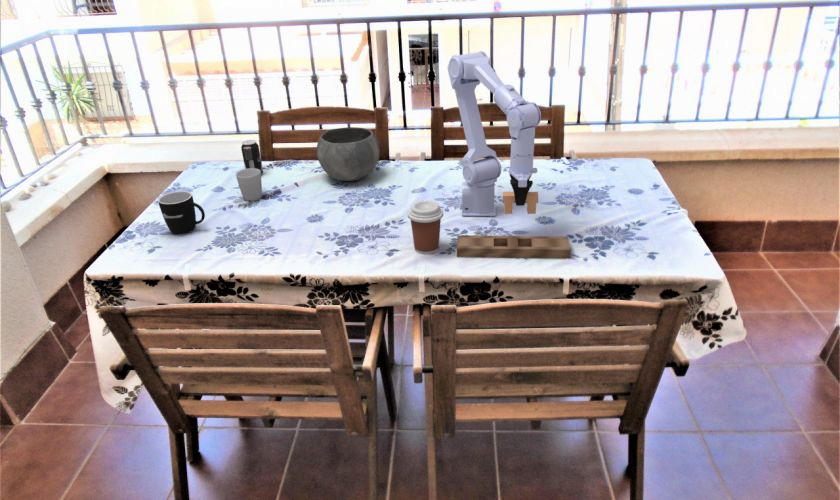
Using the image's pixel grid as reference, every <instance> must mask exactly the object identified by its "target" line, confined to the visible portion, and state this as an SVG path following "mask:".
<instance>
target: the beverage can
mask: <svg viewBox="0 0 840 500" xmlns="http://www.w3.org/2000/svg"><path fill="white" fill-rule="evenodd" d="M240 148H241V153H242V159H243V165H244V169H249V168H255V169H259V170H260V171H261V175H263V173H264V169H263V164H262V158H261V151H260V146H259V144H258V142H257V140H255V139H248V140H247V139H246V140H244V141H242V143H241V147H240Z"/></svg>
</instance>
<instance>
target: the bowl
mask: <svg viewBox="0 0 840 500" xmlns="http://www.w3.org/2000/svg"><path fill="white" fill-rule="evenodd" d="M380 152H381V151H380V146H379V141H378V139H377V137H376V135H375V133H374V132H373V131H372V130H370V129H369V128H365V127H359V126H358V127H356V126H355V127H354V126H352V127H349V126H348V127H339V128H333V129H329V130H326V131H325V132H323V133H322V134H321V135H320V136H319V138H318V140H317V145H316V155H317V156H316V157H317V160H318V163H319V164H320V167H321V168H322V170H323V171H324V172H325V173H326V174H327V175H328V176H330V177H331V178H333V179H334V180H337V181H342V182H354V181H358V180H361V179H363V178H365V177H367V176H368V175H369V174H370V173H372V172H373V171H374V169H375V168H376V166H377V164H378V161H379V159H380Z"/></svg>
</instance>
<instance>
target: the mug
mask: <svg viewBox="0 0 840 500" xmlns="http://www.w3.org/2000/svg"><path fill="white" fill-rule="evenodd" d="M158 206H159V208H160V211H161V214H162V217H163V220H164V223H165V224H166V227H167V228H168V230H169V231H170V233H172V234H173V235H176V234H182V235H187V234H189V232H190V233H191V231H192V232H193V231H194V230H195V228H196V226H197V225H199V224H202V222H203V221H204V220H205V218H206V213H205V209H204V208H203V207H202V206H201V205H200V204H199V203H196V202H194V196H193V194H192V192H189V191H186V190H185V191H184V190H180V191H179V190H177V191H171V192H168V193H165V194H163V195H162V196H160V197H158ZM196 208H197V209H198V210H199V211H200V213H201V218H200V220H197V216H196ZM186 233H187V234H186Z"/></svg>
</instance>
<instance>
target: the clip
mask: <svg viewBox="0 0 840 500" xmlns="http://www.w3.org/2000/svg"><path fill="white" fill-rule="evenodd" d="M538 203H539V192H538V191H528V194H527V198H526V202H525V204H527V206H526V210H527V214H528V215H536V212H537V204H538ZM502 204H504V205H503V206H504V207H503V209H504V211H503V212H504V215H506V214H507V215H512V214H513V210H514V209H513V207H514V206H513V205H514V204H516V203H515V195H514V191H502Z"/></svg>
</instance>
